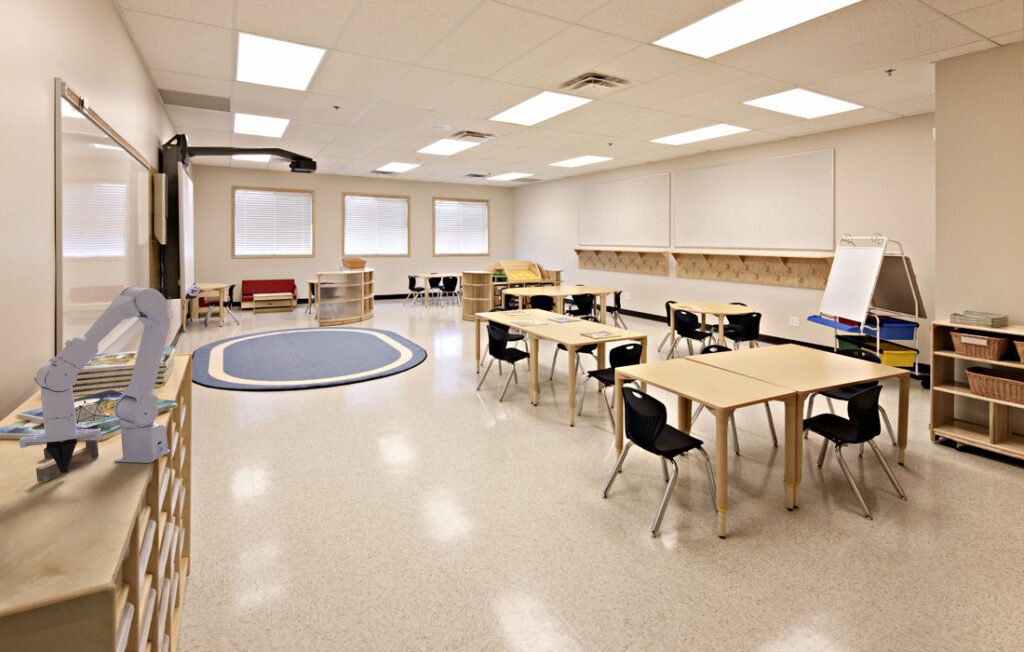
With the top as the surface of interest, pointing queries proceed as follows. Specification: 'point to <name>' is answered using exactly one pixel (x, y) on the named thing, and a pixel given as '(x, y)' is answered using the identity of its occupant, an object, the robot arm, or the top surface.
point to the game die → (89, 412)
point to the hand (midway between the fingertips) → (65, 471)
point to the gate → (77, 458)
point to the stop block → (47, 454)
